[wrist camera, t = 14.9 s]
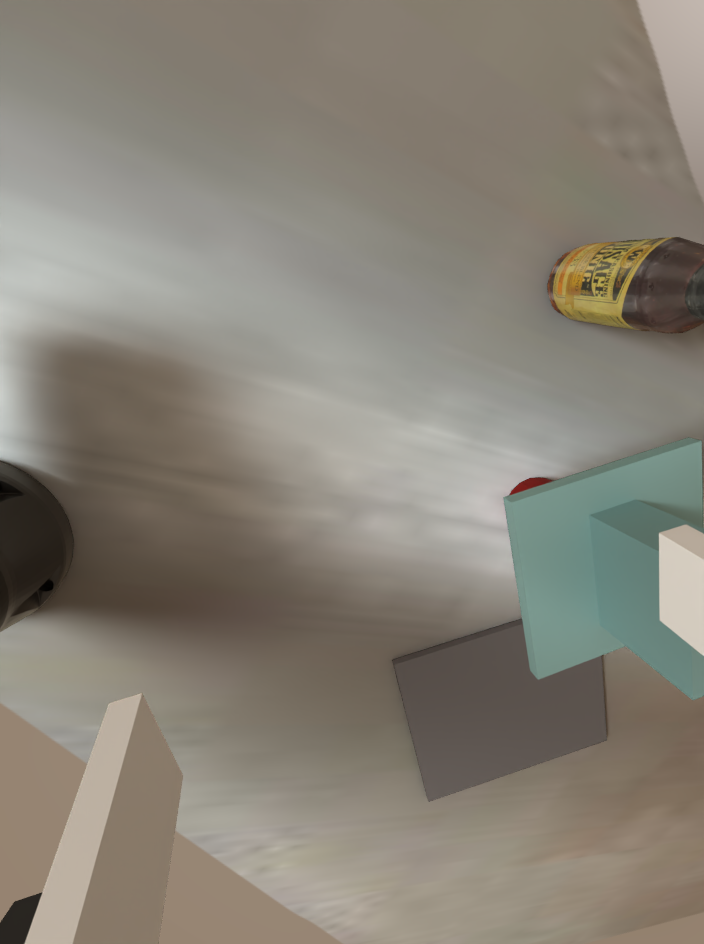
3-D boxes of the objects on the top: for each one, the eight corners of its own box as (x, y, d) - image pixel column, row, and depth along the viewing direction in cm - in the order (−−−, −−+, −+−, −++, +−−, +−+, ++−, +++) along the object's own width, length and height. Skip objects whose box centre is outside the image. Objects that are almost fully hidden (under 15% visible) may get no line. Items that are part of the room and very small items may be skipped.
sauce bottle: (579, 229, 45) (808, 187, 26) (619, 280, 47) (857, 275, 28) (526, 289, 45) (711, 289, 27) (568, 337, 48) (766, 367, 29)
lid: (530, 670, 43) (615, 768, 34) (503, 497, 38) (594, 554, 28) (693, 608, 45) (817, 684, 36) (688, 437, 40) (831, 471, 31)
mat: (426, 795, 64) (428, 801, 64) (392, 659, 56) (394, 664, 56) (602, 735, 66) (606, 740, 66) (593, 595, 58) (598, 599, 58)
